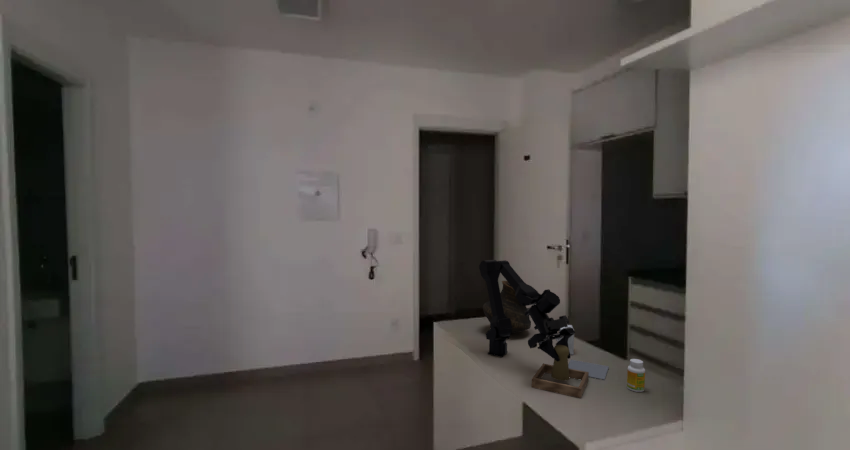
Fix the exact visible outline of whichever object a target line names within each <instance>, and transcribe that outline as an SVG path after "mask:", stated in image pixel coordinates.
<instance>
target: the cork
mask: <svg viewBox="0 0 850 450" xmlns="http://www.w3.org/2000/svg"><path fill="white" fill-rule="evenodd" d="M553 347H554V349H555V350H556V352H557V354H558V356H559V359H560V361H558V362H557V361H556V360H555V359H553V364H552V365H553V370H552V374H550V375H551V376H550V377H551V378H553V379H554V380H557V381H560V382H561V381H562V382H563V381H568V380H570V378H569V367H568V364H569V359H568V357H567V356H568V355H569V348H568V347H567V346H564V345H556V344H555V346H553Z"/></svg>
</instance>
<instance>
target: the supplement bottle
mask: <svg viewBox="0 0 850 450" xmlns="http://www.w3.org/2000/svg"><path fill="white" fill-rule="evenodd" d="M626 372H627V374H626V375H627V376H626V378H627V379H626V388H627V389H628V390H630V391H632V392H635V393H642V392H644V391H645V387H646V386H645V385H646V383H645V382H646V369H645V367H644V361H643V360H641V359H638V358H631V359H630V360H629V365H628V366H627V371H626Z"/></svg>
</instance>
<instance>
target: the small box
mask: <svg viewBox="0 0 850 450" xmlns="http://www.w3.org/2000/svg"><path fill="white" fill-rule="evenodd" d="M567 326H568V327H571V328H573V330H574V331H575V329H574V327H573V325H572V324H567ZM563 328H567V327H562V328H560V329H561V330H562V329H563ZM561 330H560V331H561ZM560 331H558V332H560ZM568 347H569V352H570V356H571V355H575V354H574V353H575V334H574V335H572V336H571V337H570V338H569V339H568Z"/></svg>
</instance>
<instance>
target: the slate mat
mask: <svg viewBox="0 0 850 450" xmlns="http://www.w3.org/2000/svg"><path fill="white" fill-rule="evenodd" d="M568 367H569V368H570V369H575V370H580V371H585V372H589V377H588V378H590V377H591V378H590V379H595V378H596V379H595V380H600V379H602V380H601V381H605V380H606V377H607V374H608V371H609V368H610V366H609V365H603V364H599V363H593V362H588V361H581V360H575V359H570V360H569V361H568Z"/></svg>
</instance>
